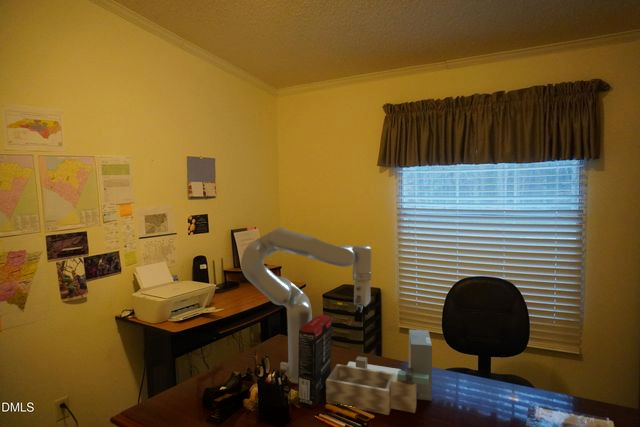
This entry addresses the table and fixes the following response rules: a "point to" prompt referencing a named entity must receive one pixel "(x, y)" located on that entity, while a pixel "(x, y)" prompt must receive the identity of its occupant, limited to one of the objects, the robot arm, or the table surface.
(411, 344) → the hard drive box
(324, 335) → the graphics card box
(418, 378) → the teal rectangular block
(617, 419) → the table surface
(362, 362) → the toolbox lid
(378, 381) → the toolbox
